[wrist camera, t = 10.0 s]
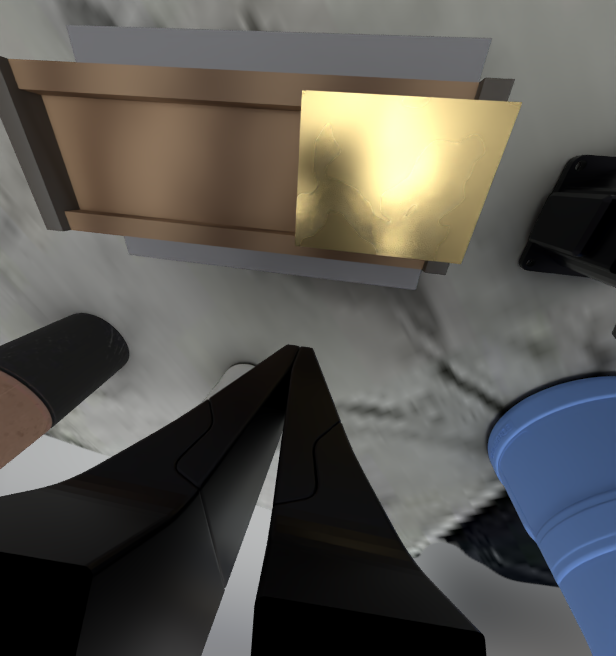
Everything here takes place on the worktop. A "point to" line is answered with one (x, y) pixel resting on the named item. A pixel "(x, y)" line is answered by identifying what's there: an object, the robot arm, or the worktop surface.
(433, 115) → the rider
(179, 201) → the beam
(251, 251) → the stand
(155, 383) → the worktop surface
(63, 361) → the travel mug
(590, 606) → the water jug
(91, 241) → the worktop surface
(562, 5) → the worktop surface
